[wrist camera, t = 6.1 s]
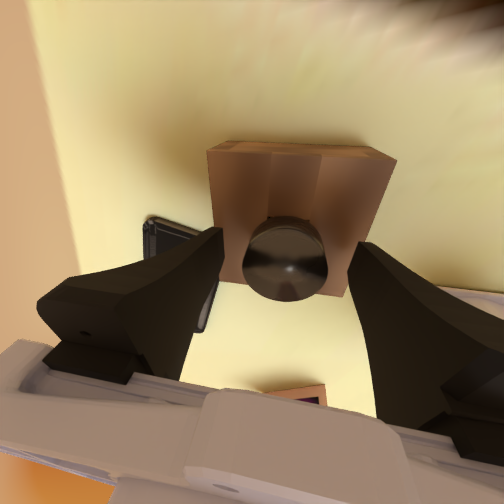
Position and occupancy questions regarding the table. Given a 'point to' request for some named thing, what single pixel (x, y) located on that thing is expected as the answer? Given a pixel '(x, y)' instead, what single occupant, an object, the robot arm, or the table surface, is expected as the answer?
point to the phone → (165, 238)
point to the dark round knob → (285, 259)
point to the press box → (297, 197)
